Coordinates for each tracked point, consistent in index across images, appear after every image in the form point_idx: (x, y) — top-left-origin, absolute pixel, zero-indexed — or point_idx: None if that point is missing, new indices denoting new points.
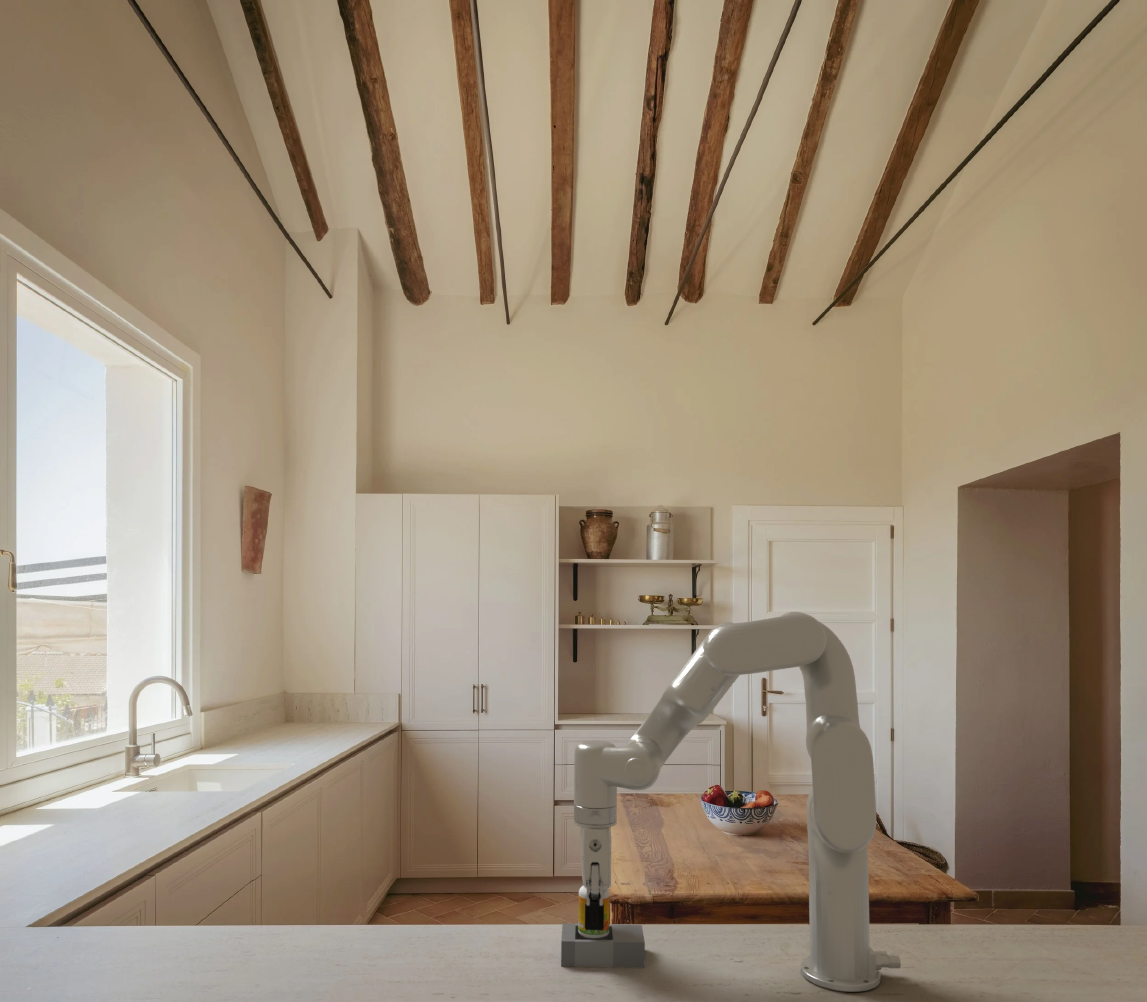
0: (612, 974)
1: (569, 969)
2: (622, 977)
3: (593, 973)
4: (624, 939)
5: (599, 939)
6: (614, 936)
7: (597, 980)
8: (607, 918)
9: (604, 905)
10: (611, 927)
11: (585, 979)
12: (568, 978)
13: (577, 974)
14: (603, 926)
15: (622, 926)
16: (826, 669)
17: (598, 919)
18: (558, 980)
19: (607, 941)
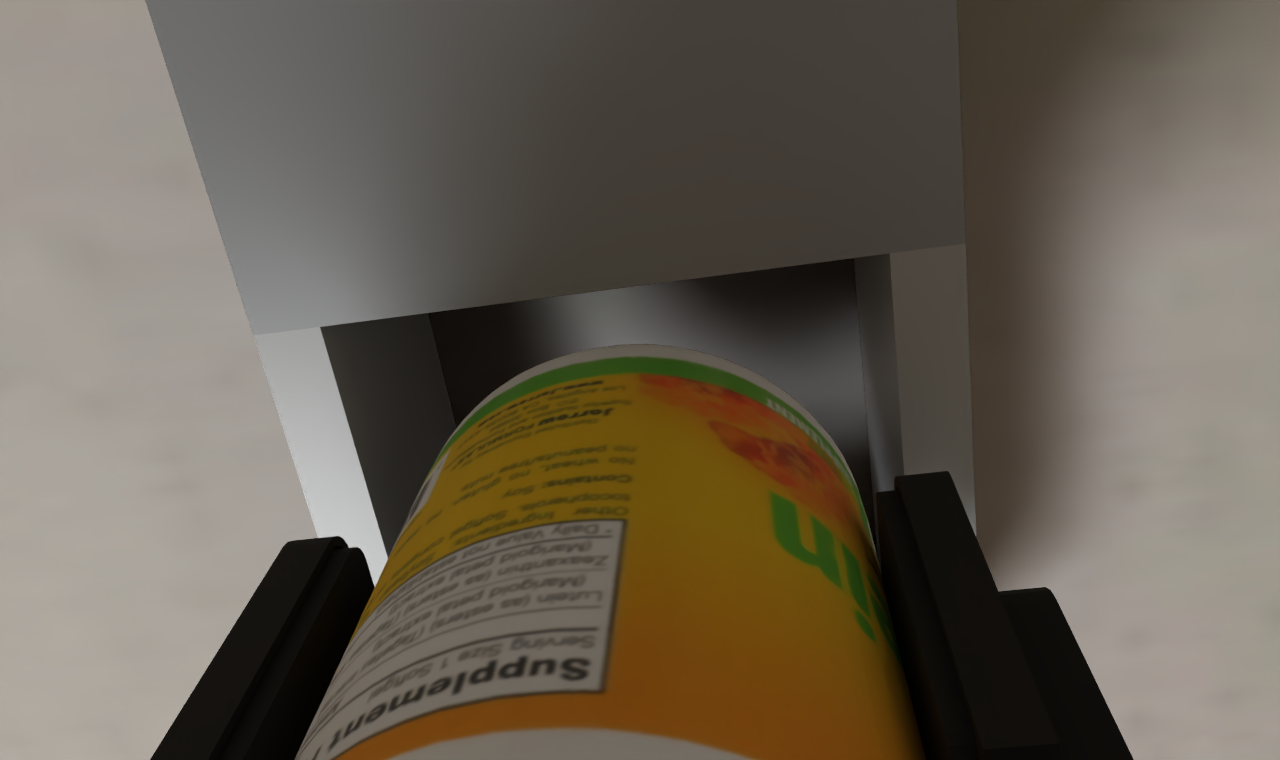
0: (1110, 138)
1: (999, 578)
2: (1198, 6)
3: (1089, 348)
4: (837, 74)
5: (412, 406)
6: (729, 246)
7: (1276, 287)
8: (742, 478)
9: (852, 700)
10: (326, 323)
11: (1246, 409)
12: (1217, 563)
13: (1119, 496)
14: (955, 489)
15: (288, 164)
16: None
17: (1068, 647)
18: (1262, 638)
19: (944, 328)
